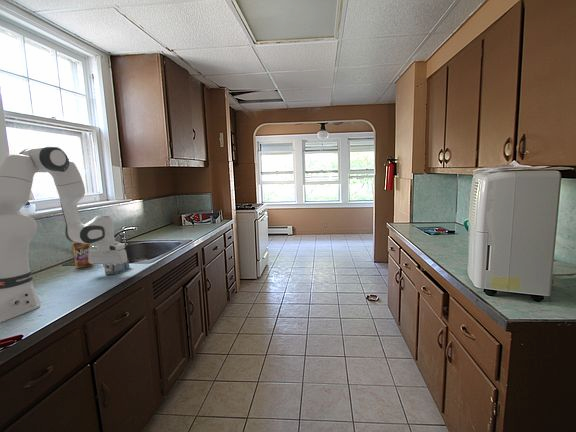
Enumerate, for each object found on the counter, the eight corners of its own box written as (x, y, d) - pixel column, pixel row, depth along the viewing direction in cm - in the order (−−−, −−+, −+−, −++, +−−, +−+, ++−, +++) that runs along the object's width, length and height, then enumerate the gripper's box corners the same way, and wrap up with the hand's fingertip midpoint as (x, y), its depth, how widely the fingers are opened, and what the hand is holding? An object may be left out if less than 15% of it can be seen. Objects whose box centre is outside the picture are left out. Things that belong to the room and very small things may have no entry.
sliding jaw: (115, 274, 170) (114, 265, 169) (105, 274, 170) (104, 265, 170) (122, 270, 175) (121, 262, 175) (112, 270, 176) (111, 262, 175)
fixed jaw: (126, 269, 179) (125, 260, 178) (116, 269, 179) (115, 260, 179) (129, 267, 182) (128, 259, 181) (119, 267, 182) (118, 259, 182)
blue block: (121, 271, 175) (120, 260, 174) (113, 271, 176) (111, 260, 175) (125, 269, 179) (124, 259, 178) (117, 269, 179) (115, 259, 179)
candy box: (75, 268, 184) (72, 243, 181) (75, 267, 187) (72, 241, 185) (93, 265, 188) (90, 240, 186) (93, 264, 192) (90, 239, 190)
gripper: (83, 247, 165) (86, 273, 167) (119, 247, 163) (122, 273, 165) (92, 244, 172) (95, 269, 173) (127, 244, 169) (130, 269, 171)
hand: (109, 271), depth 169 cm, fingers closed, pressing on sliding jaw
